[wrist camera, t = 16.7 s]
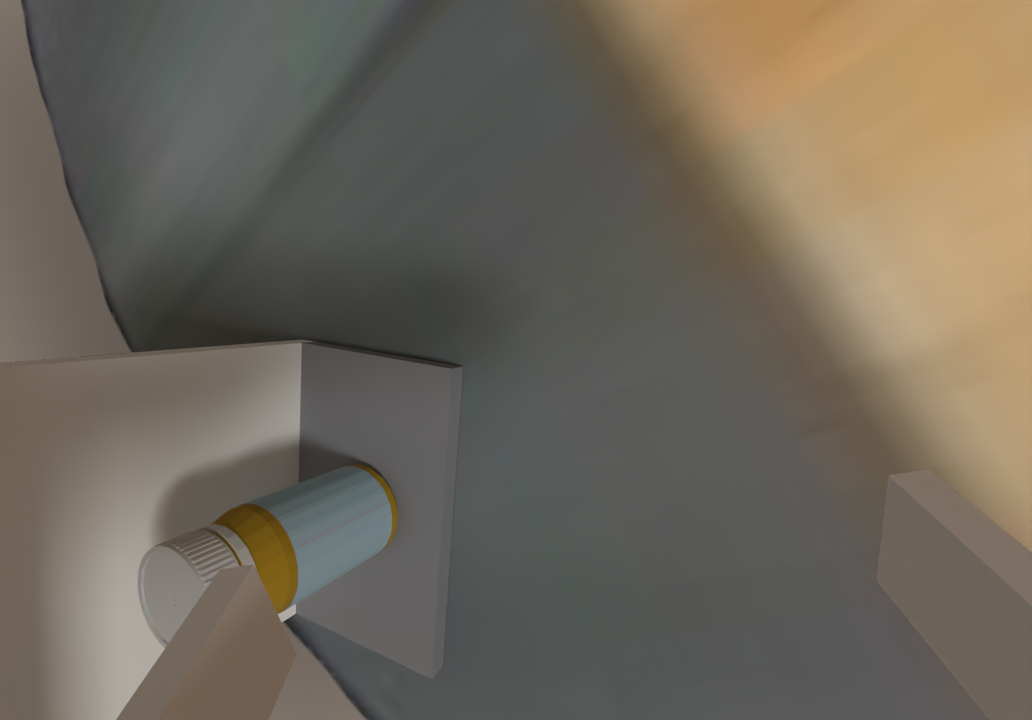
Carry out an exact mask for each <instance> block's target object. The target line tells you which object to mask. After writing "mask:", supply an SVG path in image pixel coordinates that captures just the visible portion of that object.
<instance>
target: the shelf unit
mask: <svg viewBox="0 0 1032 720" xmlns="http://www.w3.org/2000/svg"><path fill="white" fill-rule="evenodd" d="M462 379H463V366H457V365H451V364H445V363H439V362H433V361H428V360H422V359H416V358H410V357H404V356H398V355H392V354H386V353H380V352H374V351H368V350H362V349H357V348H351V347H345V346H339V345H333V344H327V343H321V342H315V341H309V340H290V341H277V342H264V343H251V344H238V345H225V346H212V347H199V348H186V349H173V350H159V351H146V352H133V353H120V354H107V355H94V356H82V357H68V358H56V359H43V360H29V361H17V362H3V363H0V720H116V719H117V717H118V716H119V714H120V713H121V711H122V710H123V709H124V707H125V706H126V704H127V703H128V701H129V700H130V698H131V697H132V696H133V694H134V693H135V691H136V690H137V688H138V687H139V685H140V684H141V683H142V681H143V680H144V678H145V677H146V675H147V674H148V672H149V671H150V669H151V668H152V667H153V665H154V664H155V662H156V661H157V659H158V658H159V656H160V655H161V654H162V652H163V651H164V649H165V648H164V647H163V646H162V645H161V644H160V643H159V642H158V640H157V639H156V638H155V636H154V635H153V633H152V631H151V630H150V628H149V626H148V624H147V622H146V619H145V617H144V614H143V611H142V608H141V604H140V600H139V594H138V571H139V566H140V563H141V560H142V558H143V556H144V555H145V553H146V552H147V551H148V550H150V549H151V548H153V547H154V546H155V545H157V544H160V543H162V542H165V541H167V540H170V539H173V538H175V537H178V536H180V535H183V534H186V533H188V532H192V531H195V530H197V529H200V528H202V527H205V526H209V525H211V524H212V523H213V522H214V521H215V520H217V519H218V518H219V517H220V516H221V515H223V514H224V513H225V512H227V511H229V510H230V509H232V508H235V507H238V506H239V505H242V504H244V503H247V502H250V501H252V500H255V499H258V498H260V497H263V496H266V495H268V494H271V493H274V492H277V491H279V490H282V489H285V488H287V487H290V486H293V485H295V484H298V483H301V482H303V481H306V480H309V479H312V478H314V477H317V476H320V475H322V474H325V473H328V472H330V471H333V470H336V469H338V468H341V467H345V466H348V465H356V464H359V465H363V466H366V467H369V468H371V469H372V470H374V471H375V472H376V473H377V474H379V475H380V476H381V477H383V478H384V479H385V481H386V482H387V483H388V485H389V486H390V487H391V489H392V492H393V494H394V496H395V499H396V503H397V509H398V519H397V528H396V532H395V534H394V537H393V539H392V541H391V542H390V543H389V544H388V545H387V546H386V547H385V548H384V549H383V550H381V551H380V552H379V553H377V554H375V555H374V556H372V557H371V558H369V559H367V560H366V561H364V562H362V563H361V564H359V565H358V566H356V567H354V568H353V569H351V570H350V571H348V572H346V573H345V574H343V575H341V576H340V577H338V578H337V579H335V580H333V581H332V582H330V583H329V584H327V585H325V586H324V587H322V588H320V589H319V590H317V591H316V592H314V593H312V594H311V595H309V596H308V597H306V598H304V599H303V600H301V601H299V602H298V603H296V604H295V605H293V606H291V607H290V608H288V609H287V610H285V611H283V612H281V613H279V614H278V616H279V618H280V620H281V622H283V621H285V620H286V619H288V618H290V617H291V616H293V615H294V614H298V615H300V616H302V617H304V618H306V619H308V620H310V621H312V622H314V623H316V624H318V625H320V626H322V627H325V628H327V629H329V630H331V631H333V632H335V633H337V634H339V635H341V636H343V637H345V638H347V639H349V640H351V641H353V642H356V643H358V644H360V645H362V646H364V647H366V648H368V649H370V650H372V651H374V652H376V653H378V654H380V655H382V656H385V657H387V658H389V659H391V660H393V661H395V662H397V663H399V664H401V665H403V666H405V667H407V668H409V669H411V670H413V671H416V672H418V673H420V674H422V675H424V676H426V677H428V678H430V679H432V678H433V677H434V676H435V675H436V674H437V673H438V672H439V671H440V670H441V669H442V668H443V657H444V643H445V628H446V613H447V599H448V584H449V569H450V555H451V540H452V525H453V511H454V496H455V481H456V467H457V452H458V437H459V423H460V408H461V394H462Z"/></svg>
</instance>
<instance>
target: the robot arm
mask: <svg viewBox="0 0 1032 720" xmlns="http://www.w3.org/2000/svg"><path fill="white" fill-rule="evenodd" d="M877 582H878V583H879V584H880V585H881V586H882V588H883V589H884V590H885V591H886V593H887V594H888V595H889V596H890V598H891V599H892V600H893V601H894V603H895V604H896V605H897V606H898V607H899V609H900V610H901V611H902V612H903V614H904V615H905V616H906V617H907V619H908V620H909V621H910V622H911V624H912V625H913V626H914V627H915V628H916V630H917V631H918V632H919V633H920V635H921V636H922V637H923V638H924V640H925V641H926V642H927V643H928V645H929V646H930V647H931V648H932V649H933V651H934V652H935V653H936V654H937V656H938V657H939V658H940V659H941V661H942V662H943V663H944V664H945V666H946V667H947V668H948V669H949V670H950V672H951V673H952V674H953V675H954V677H955V678H956V679H957V680H958V682H959V683H960V684H961V685H962V687H963V688H964V689H965V690H966V691H967V693H968V694H969V695H970V696H971V698H972V699H973V700H974V701H975V703H976V704H977V705H978V706H979V708H980V709H981V710H982V711H983V712H984V714H985V715H986V716H987V717H988V719H989V720H1032V552H1030V551H1029V550H1028V549H1027V548H1026V547H1024V546H1023V545H1022V544H1021V543H1019V542H1018V541H1017V540H1016V539H1014V538H1013V537H1012V536H1011V535H1009V534H1008V533H1007V532H1006V531H1005V530H1003V529H1002V528H1001V527H1000V526H998V525H997V524H996V523H995V522H993V521H992V520H991V519H990V518H988V517H987V516H986V515H985V514H983V513H982V512H981V511H980V510H979V509H977V508H976V507H975V506H974V505H972V504H971V503H970V502H969V501H967V500H966V499H965V498H964V497H962V496H961V495H960V494H959V493H957V492H956V491H955V490H954V489H953V488H951V487H950V486H949V485H948V484H946V483H945V482H944V481H943V480H941V479H940V478H939V477H938V476H936V475H935V474H934V473H933V472H931V471H930V470H922V471H915V472H908V473H901V474H894V475H888V484H887V493H886V501H885V510H884V519H883V528H882V537H881V546H880V555H879V564H878V573H877ZM296 655H297V654H296V651H295V649H294V647H293V646H292V643H291V641H290V639H289V637H288V635H287V633H286V631H285V629H284V626H283V624H282V622H281V620H280V618H279V616H278V614H277V612H276V610H275V608H274V606H273V604H272V601H271V599H270V597H269V595H268V593H267V591H266V589H265V587H264V585H263V583H262V581H261V579H260V576H259V574H258V572H257V570H256V568H255V566H254V564H253V565H246V566H239V567H231V568H224V569H220V570H219V571H218V573H217V574H216V575H215V577H214V578H213V580H212V581H211V583H210V584H209V586H208V587H207V588H206V590H205V591H204V593H203V594H202V596H201V597H200V599H199V600H198V602H197V603H196V604H195V606H194V607H193V609H192V610H191V612H190V613H189V615H188V616H187V617H186V619H185V620H184V622H183V623H182V625H181V626H180V628H179V629H178V630H177V632H176V633H175V635H174V636H173V638H172V639H171V641H170V642H169V643H168V645H167V646H166V648H165V649H164V651H163V652H162V654H161V655H160V656H159V658H158V659H157V661H156V662H155V664H154V665H153V667H152V668H151V669H150V671H149V672H148V674H147V675H146V677H145V678H144V680H143V681H142V683H141V684H140V685H139V687H138V688H137V690H136V691H135V693H134V694H133V696H132V697H131V698H130V700H129V701H128V703H127V704H126V706H125V707H124V709H123V710H122V711H121V713H120V714H119V716H118V717H117V719H116V720H269V717H270V715H271V713H272V711H273V708H274V706H275V703H276V701H277V699H278V696H279V694H280V692H281V690H282V687H283V685H284V682H285V680H286V678H287V676H288V673H289V671H290V668H291V666H292V664H293V661H294V659H295V657H296Z"/></svg>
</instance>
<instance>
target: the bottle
mask: <svg viewBox="0 0 1032 720" xmlns="http://www.w3.org/2000/svg"><path fill="white" fill-rule="evenodd" d="M397 519H398V509H397V503H396V499H395V496H394V494H393V492H392V489H391V487H390V486H389V485H388V483H387V482H386V481H385V479H384V478H383V477H381V476H380V475H379V474H377V473H376V472H375V471H374V470H372V469H371V468H369V467H366V466H363V465H359V464H356V465H348V466H345V467H341V468H338V469H336V470H333V471H330V472H328V473H325V474H322V475H320V476H317V477H314V478H312V479H309V480H306V481H303V482H301V483H298V484H295V485H293V486H290V487H287V488H285V489H282V490H279V491H277V492H274V493H271V494H268V495H266V496H263V497H260V498H258V499H255V500H252V501H250V502H247V503H244V504H242V505H239V506H238V507H235V508H232V509H230V510H229V511H227V512H225V513H224V514H223V515H221V516H220V517H219V518H218V519H217V520H215V521H214V522H213V523H212V524H211V525H209V526H205V527H202V528H200V529H197V530H195V531H192V532H188V533H186V534H183V535H180V536H178V537H175V538H173V539H170V540H167V541H165V542H162V543H160V544H157V545H155V546H154V547H153V548H151V549H150V550H148V551H147V552H146V553H145V555H144V556H143V558H142V560H141V563H140V566H139V571H138V594H139V600H140V604H141V608H142V611H143V614H144V617H145V619H146V622H147V624H148V626H149V628H150V630H151V631H152V633H153V635H154V636H155V638H156V639H157V640H158V642H159V643H160V644H161V645H162V646H163V647H164V648H166V646H167V645H168V643H169V642H170V641H171V639H172V638H173V636H174V635H175V633H176V632H177V630H178V629H179V628H180V626H181V625H182V623H183V622H184V620H185V619H186V617H187V616H188V615H189V613H190V612H191V610H192V609H193V607H194V606H195V604H196V603H197V602H198V600H199V599H200V597H201V596H202V594H203V593H204V591H205V590H206V588H207V587H208V586H209V584H210V583H211V581H212V580H213V578H214V577H215V575H216V574H217V573H218V571H219V570H220V569H224V568H231V567H239V566H246V565H253V564H254V566H255V568H256V570H257V572H258V574H259V576H260V579H261V581H262V583H263V585H264V587H265V589H266V591H267V593H268V595H269V597H270V599H271V601H272V604H273V606H274V608H275V610H276V612H277V614H279V613H281V612H283V611H285V610H287V609H288V608H290V607H291V606H293V605H295V604H296V603H298V602H299V601H301V600H303V599H304V598H306V597H308V596H309V595H311V594H312V593H314V592H316V591H317V590H319V589H320V588H322V587H324V586H325V585H327V584H329V583H330V582H332V581H333V580H335V579H337V578H338V577H340V576H341V575H343V574H345V573H346V572H348V571H350V570H351V569H353V568H354V567H356V566H358V565H359V564H361V563H362V562H364V561H366V560H367V559H369V558H371V557H372V556H374V555H375V554H377V553H379V552H380V551H381V550H383V549H384V548H385V547H386V546H387V545H388V544H389V543H390V542H391V541H392V539H393V537H394V534H395V532H396V528H397Z"/></svg>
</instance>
